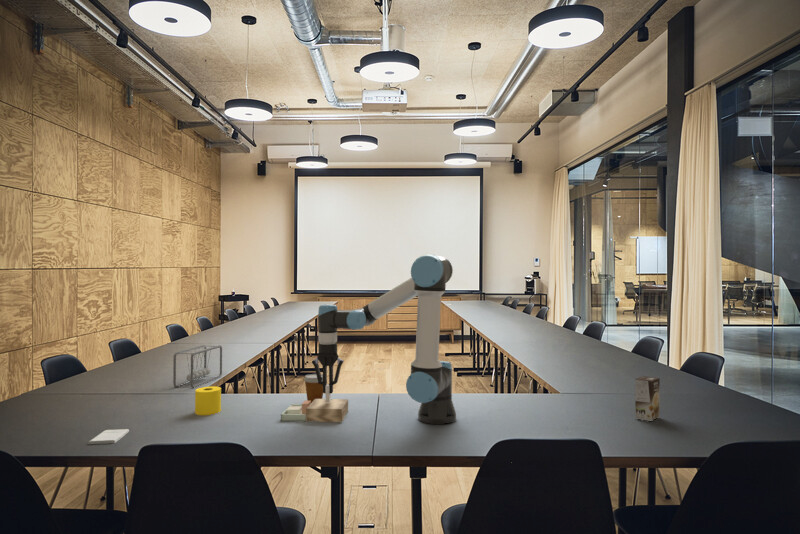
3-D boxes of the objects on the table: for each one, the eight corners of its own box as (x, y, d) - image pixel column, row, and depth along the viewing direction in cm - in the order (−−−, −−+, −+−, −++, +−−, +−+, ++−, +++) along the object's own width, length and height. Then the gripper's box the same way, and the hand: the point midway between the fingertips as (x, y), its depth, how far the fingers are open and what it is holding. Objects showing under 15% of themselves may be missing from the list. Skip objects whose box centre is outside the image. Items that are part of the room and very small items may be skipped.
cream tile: (289, 406, 203) (289, 412, 203) (286, 409, 198) (286, 415, 198) (301, 406, 203) (301, 412, 203) (299, 409, 198) (299, 415, 198)
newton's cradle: (192, 389, 246) (192, 353, 246) (172, 388, 248) (173, 352, 248) (222, 376, 276) (222, 344, 276) (204, 376, 277) (205, 344, 278)
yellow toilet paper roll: (225, 411, 206) (225, 389, 206) (201, 416, 199) (202, 393, 199) (213, 407, 213) (214, 385, 213) (190, 412, 205) (191, 389, 206)
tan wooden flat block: (348, 411, 207) (348, 399, 207) (341, 422, 192) (341, 409, 192) (315, 410, 208) (315, 398, 208) (306, 421, 193) (306, 408, 193)
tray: (314, 410, 208) (314, 404, 208) (305, 421, 193) (305, 414, 193) (291, 410, 208) (291, 404, 208) (280, 420, 193) (280, 414, 193)
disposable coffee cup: (321, 406, 215) (321, 378, 215) (300, 405, 217) (300, 377, 217) (328, 400, 224) (328, 374, 224) (308, 399, 226) (308, 373, 226)
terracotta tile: (311, 400, 203) (304, 400, 203) (308, 403, 198) (301, 403, 198) (310, 412, 203) (304, 412, 203) (308, 416, 198) (301, 416, 198)
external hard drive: (88, 445, 167) (104, 434, 179) (114, 444, 168) (129, 433, 180) (88, 441, 167) (104, 429, 179) (114, 439, 168) (129, 428, 180)
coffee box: (651, 422, 192) (651, 381, 192) (634, 419, 197) (634, 378, 197) (660, 417, 198) (659, 377, 199) (643, 414, 203) (643, 375, 203)
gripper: (345, 341, 203) (345, 399, 203) (314, 341, 204) (314, 398, 204) (342, 344, 196) (342, 403, 196) (309, 344, 197) (309, 403, 196)
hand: (328, 401), depth 200 cm, fingers closed
